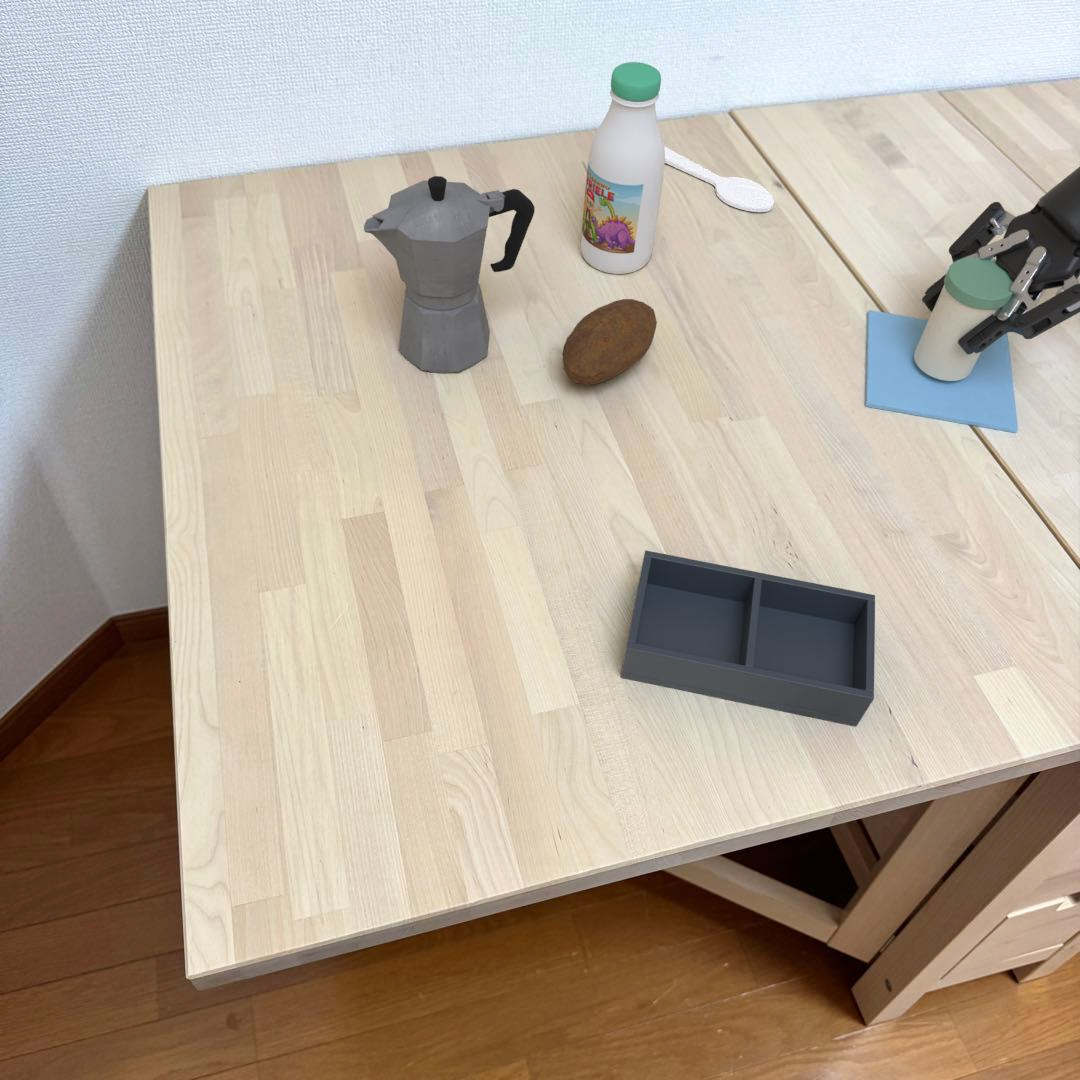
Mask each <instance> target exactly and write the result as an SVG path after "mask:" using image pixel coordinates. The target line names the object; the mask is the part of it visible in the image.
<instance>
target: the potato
mask: <svg viewBox="0 0 1080 1080" xmlns="http://www.w3.org/2000/svg"><path fill="white" fill-rule="evenodd" d="M657 323H658V322H657V318H656V314H655V310H654V308H652V306H650V305H649V304H647V303H645V302H644V301H640V300H637V299H633V298H622V299H618V300H614V301H611V302H609V303H607V304H604V305H602V306H600V307H597V308H596V309H594V310H593V311H591V312H589V313H587V315H585V316H583V317H582V318H581V319H580V320H579V322H577V324H576V325H575V327H574V328H573V330H572V331H571V332H570V334H569V335H568V336H567V338H566V340H565V343H564V345H563V349H562V353H561V356H562V362H563V363H562V364H563V370H564V371H565V373H566V374H567V376H568V378H569V379H570V380H571V381H574V382H575V383H577V384H580V385H589V386H590V385H595V384H600V383H603V382H606V381H608V380H611V379H612V378H614V377H616V376H618V375H620V374H622V373H623V372H625V371H626V370H628V369H630V368H631V367H632V366H634V365H635V364H636V363H638V362H639V361H640V360H642V358H643V357H644V356H645V355H646V354H647V353H648V350H649V349H650V347H651V345H652V343H653V341H654V336H655V333H656V330H657Z"/></svg>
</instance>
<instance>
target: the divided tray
mask: <svg viewBox="0 0 1080 1080" xmlns="http://www.w3.org/2000/svg"><path fill="white" fill-rule="evenodd" d="M633 604H634V606H633V610H632V614H631V621H630V625H629V631H628V637H627V641H626V646H625V651H624V657H623V663H622V667H621V672H620V678H621V679H626V680H631V681H635V682H641V683H645V684H650V685H655V686H659V687H663V688H668V689H674V690H678V691H682V692H683V691H684V692H687V693H694V694H697V695H702V696H708V697H712V698H717V699H721V700H725V701H731V702H736V703H741V704H745V705H750V706H756V707H760V708H765V709H769V710H775V711H779V712H784V713H790V714H793V715H798V716H803V717H808V718H813V719H818V720H822V721H827V722H832V723H837V724H842V725H847V726H852V727H858V725H859V723H860V722H861V720H862V719H863V717H864V716H865V714H866V712H867V711H868V710H869V708H870V706H871V704H872V703H873V701H874V699H875V653H876V652H875V650H876V649H875V648H876V647H875V646H876V645H875V643H876V595H875V594H871V593H866V592H861V591H856V590H851V589H846V588H840V587H837V586H836V587H835V586H831V585H825V584H820V583H815V582H810V581H805V580H799V579H794V578H789V577H784V576H780V575H773V574H769V573H765V572H764V573H763V572H760V571H759V572H758V571H754V570H749V569H743V568H739V567H733V566H728V565H723V564H718V563H712V562H708V561H703V560H697V559H692V558H687V557H683V556H677V555H671V554H667V553H661V552H656V551H650V550H645V551H644V554H643V559H642V564H641V570H640V574H639V579H638V583H637V589H636V594H635V599H634V603H633Z"/></svg>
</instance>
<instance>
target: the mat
mask: <svg viewBox="0 0 1080 1080" xmlns="http://www.w3.org/2000/svg"><path fill="white" fill-rule="evenodd" d="M866 320H867V321H866V323H867V325H866V360H865V361H866V367H865V407H868V408H872V409H877V410H883V411H890V412H894V413H901V414H907V415H912V416H917V417H923V418H928V419H934V420H935V419H936V420H941V421H945V422H946V421H947V422H951V423H957V424H964V425H967V426H968V425H969V426H975V427H978V428H979V427H980V428H985V429H991V430H996V431H1002V432H1009V433H1015V434H1016V433H1017V432H1018V430H1019V425H1018V417H1017V415H1018V414H1017V407H1016V399H1015V397H1016V396H1015V389H1014V379H1013V370H1012V363H1011V362H1012V361H1011V353H1010V344H1009V332H1008V333H1006V334H1004V335H1003V336H1002V337H1000V338H999V339H998V340H996V341H995V342H994V343H992V344H991V345H990V346H988V347H987V348H986V349H984V350H983V351H982V352H981V353H980V355H979V357H978V359H977V361H976V363H975V365H974V367H973V369H972V371H971V373H970V374H969V375H968V376H967V377H966V378H964V379H961V380H957V381H945V380H940V379H936V378H934V377H931V376H929V375H928V374H926V373H925V372H923V371H922V370H921V369H920V368H919V367H918V365H917V364H916V362H915V359H914V353H915V350H916V348H917V345H918V343H919V341H920V339H921V336H922V334H923V332H924V329H925V327H926V325H927V323H928V320H929V319H925V318H920V317H919V318H918V317H913V316H907V315H901V314H894V313H890V312H884V311H883V312H882V311H877V310H872V309H869V310H868V311H867V319H866Z"/></svg>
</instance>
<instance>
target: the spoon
mask: <svg viewBox="0 0 1080 1080" xmlns="http://www.w3.org/2000/svg"><path fill="white" fill-rule="evenodd" d="M664 148H665V164H667V165H669V166H672V168H675V169H678V170H680V171H682V172H684V173H686V174H689V175H691V176H693V177H695V178H696V179H697V178H698V179H699V180H702V181H703V182H706V183H708V184H710V185H712V186H713V187H714V191H715V194H716V195H717V197H718V199H720V200H721V201H722V202H724V203H725V204H726V205H728V206H731V207H733V208H736V209H739V210H741V211H746V212H751V213H766V212H770V211H772V209H773V208H774V205H775V199H774V196H773V195H772V193H771V192H770V191H769V189H766V187H764V185H761V184H760V183H757V182H756V181H753V180H752V179H750V178H749V179H748V178H746V177H740V176H730V177H724V176H721V175H718V174H716V173H714V172H712V171H711V170H710V169H709V168H708V169H707V168H705V167H703V166H702V165H700V164H699V163H695V162H694V161H693V160H690V159H689V158H687V157H685V155H681V154H680V153H678V152H676V151H675V150H672V149H670V148H669V147H667V146H666V145H664Z"/></svg>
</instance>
